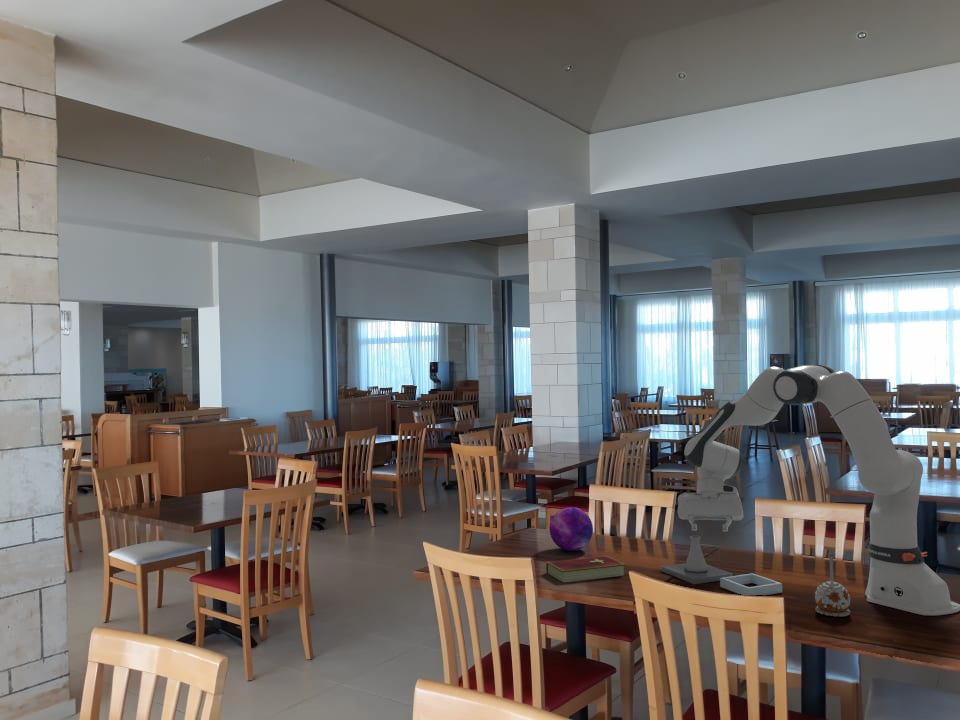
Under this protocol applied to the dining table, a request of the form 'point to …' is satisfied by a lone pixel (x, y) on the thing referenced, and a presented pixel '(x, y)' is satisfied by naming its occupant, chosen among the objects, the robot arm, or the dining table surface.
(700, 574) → the slate board
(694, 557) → the flask
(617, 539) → the dining table surface
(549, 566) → the hardcover book
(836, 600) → the decorative ornament
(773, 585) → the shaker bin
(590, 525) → the decorative orb
